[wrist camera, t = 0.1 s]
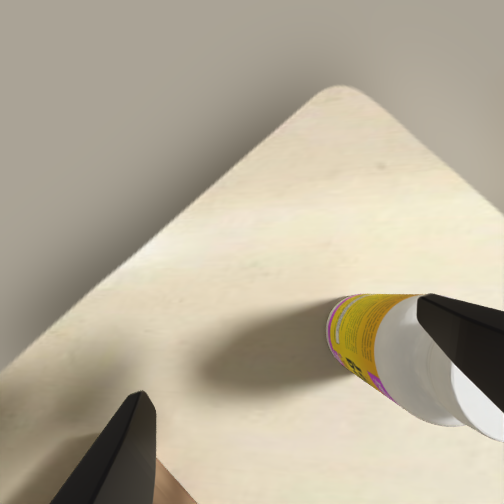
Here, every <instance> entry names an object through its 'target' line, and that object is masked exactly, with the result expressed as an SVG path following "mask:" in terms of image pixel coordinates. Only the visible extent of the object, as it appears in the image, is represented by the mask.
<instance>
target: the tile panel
mask: <svg viewBox="0 0 504 504" xmlns="http://www.w3.org/2000/svg"><path fill="white" fill-rule="evenodd" d="M153 504H197V502H196V501H195V500H194V499H193V498H192V497H191V496H190V495H189V494H188V492H187V491H186V490H185V489H184V488H183V487H182V486H181V485H180V484H179V482H178V481H177V480H176V479H175V478H174V477H173V476H172V475H171V474H170V472H169V471H168V470H167V469H166V468H165V467H164V466H163V465H162V463H161V462H160V461H159V460H158V459H157V458H156V476H155V487H154V497H153Z"/></svg>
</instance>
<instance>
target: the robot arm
mask: <svg viewBox="0 0 504 504" xmlns="http://www.w3.org/2000/svg"><path fill="white" fill-rule="evenodd" d="M416 316H417V320H418V322H419V324H420V325H421V326H422V327H423V329H424V330H425V331H426V332H427V333H428V334H429V336H430V337H431V338H432V339H433V340H434V341H435V343H436V344H437V345H438V346H439V347H440V349H441V350H442V351H443V352H444V353H445V354H446V356H447V357H448V358H449V359H450V360H451V361H452V362H453V363H454V365H455V366H456V367H457V368H458V369H459V370H460V371H461V372H462V373H463V374H464V375H465V376H466V377H467V378H468V379H469V380H470V381H471V382H472V383H473V384H474V385H475V386H476V387H477V388H479V389H480V390H481V391H482V392H483V393H484V394H485V395H486V396H487V397H488V398H489V399H490V400H491V401H492V402H493V403H494V404H495V405H496V406H497V407H498V408H499V409H500V410H501V411H502V412H503V413H504V311H500V310H496V309H492V308H488V307H484V306H480V305H476V304H472V303H468V302H464V301H460V300H456V299H452V298H448V297H444V296H440V295H436V294H432V293H430V294H426V295H423V296H420V297H418V299H417V314H416ZM155 476H156V410H155V407H154V405H153V403H152V402H151V400H150V398H149V397H148V395H147V394H146V392H145V391H143V390H142V391H138V392H135V393H132V394H130V395H129V396H128V397H127V398H126V399H125V401H124V402H123V403H122V405H121V406H120V408H119V409H118V410H117V412H116V413H115V414H114V416H113V417H112V419H111V420H110V421H109V423H108V424H107V425H106V427H105V428H104V430H103V431H102V432H101V434H100V435H99V437H98V438H97V439H96V441H95V442H94V443H93V445H92V446H91V448H90V449H89V450H88V452H87V453H86V454H85V456H84V457H83V459H82V460H81V461H80V463H79V464H78V465H77V467H76V468H75V470H74V471H73V472H72V474H71V475H70V476H69V478H68V479H67V481H66V482H65V483H64V485H63V486H62V488H61V489H60V490H59V492H58V493H57V494H56V496H55V497H54V499H53V500H52V501H51V503H50V504H153V497H154V487H155Z"/></svg>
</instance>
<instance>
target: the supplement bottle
mask: <svg viewBox="0 0 504 504" xmlns="http://www.w3.org/2000/svg"><path fill="white" fill-rule="evenodd" d="M423 295H426V294H415V295H413V294H357V295H352V296H349V297H346V298H344V299H343V300H341V301H340V302H339V303H338V304H336V306H335V307H334V308H333V309H332V311H331V312H330V314H329V317H328V320H327V324H326V338H327V342H328V346H329V348H330V350H331V352H332V354H333V355H334V357H335V358H336V359H337V360H338V361H339V362H340V363H341V364H342V365H343V366H344V367H346V368H347V369H348V370H350V371H351V372H353V373H354V374H355V375H357V376H358V377H359V378H361V379H362V380H363V381H365V382H366V383H368V384H369V385H371V386H372V387H373V388H375V389H376V390H378V391H379V392H381V393H382V394H384V395H385V396H387V397H388V398H389V399H391V400H392V401H394V402H395V403H396V404H398V405H399V406H401V407H402V408H403V409H405V410H406V411H408V412H409V413H411V414H412V415H414V416H415V417H417V418H419V419H421V420H423V421H426V422H428V423H431V424H435V425H440V426H447V427H456V426H464V425H467V426H469V427H471V428H473V429H474V430H476V431H478V432H479V433H481V434H483V435H485V436H487V437H489V438H491V439H493V440H496V441H500V442H504V413H503V412H502V411H501V410H500V409H499V408H498V407H497V406H496V405H495V404H494V403H493V402H492V401H491V400H490V399H489V398H488V397H487V396H486V395H485V394H484V393H483V392H482V391H481V390H480V389H479V388H477V387H476V386H475V385H474V384H473V383H472V382H471V381H470V380H469V379H468V378H467V377H466V376H465V375H464V374H463V373H462V372H461V371H460V370H459V369H458V368H457V367H456V366H455V365H454V363H453V362H452V361H451V360H450V359H449V358H448V357H447V356H446V354H445V353H444V352H443V351H442V350H441V349H440V347H439V346H438V345H437V344H436V343H435V341H434V340H433V339H432V338H431V337H430V336H429V334H428V333H427V332H426V331H425V330H424V329H423V327H422V326H421V325H420V324H419V322H418V320H417V316H416V314H417V299H418V297H420V296H423ZM440 296H442V295H440ZM444 297H447V296H444ZM448 298H451V297H448ZM452 299H454V298H452ZM456 300H457V299H456Z"/></svg>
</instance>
